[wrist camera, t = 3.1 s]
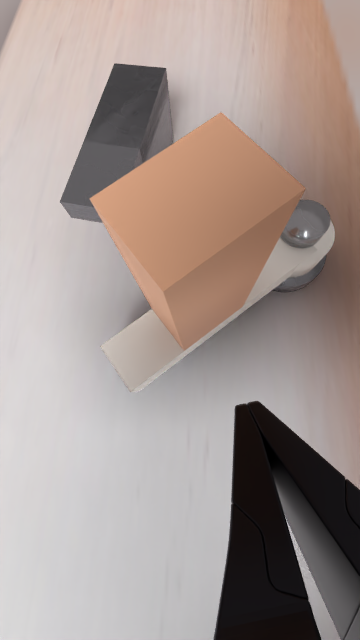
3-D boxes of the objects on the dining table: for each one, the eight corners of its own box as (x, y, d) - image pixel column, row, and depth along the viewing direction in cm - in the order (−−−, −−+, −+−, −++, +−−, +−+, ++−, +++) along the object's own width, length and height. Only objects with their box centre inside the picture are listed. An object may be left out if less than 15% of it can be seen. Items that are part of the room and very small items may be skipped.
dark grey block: (173, 139, 22) (166, 68, 17) (138, 256, 19) (118, 211, 14) (132, 134, 22) (114, 63, 17) (93, 247, 20) (59, 201, 15)
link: (289, 212, 18) (414, -33, 8) (332, 253, 17) (545, 38, 7) (107, 345, 16) (-50, 267, 6) (143, 398, 16) (31, 417, 5)
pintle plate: (318, 295, 18) (357, 265, 13) (242, 287, 18) (256, 256, 14) (319, 229, 19) (355, 183, 15) (248, 223, 19) (262, 177, 15)
